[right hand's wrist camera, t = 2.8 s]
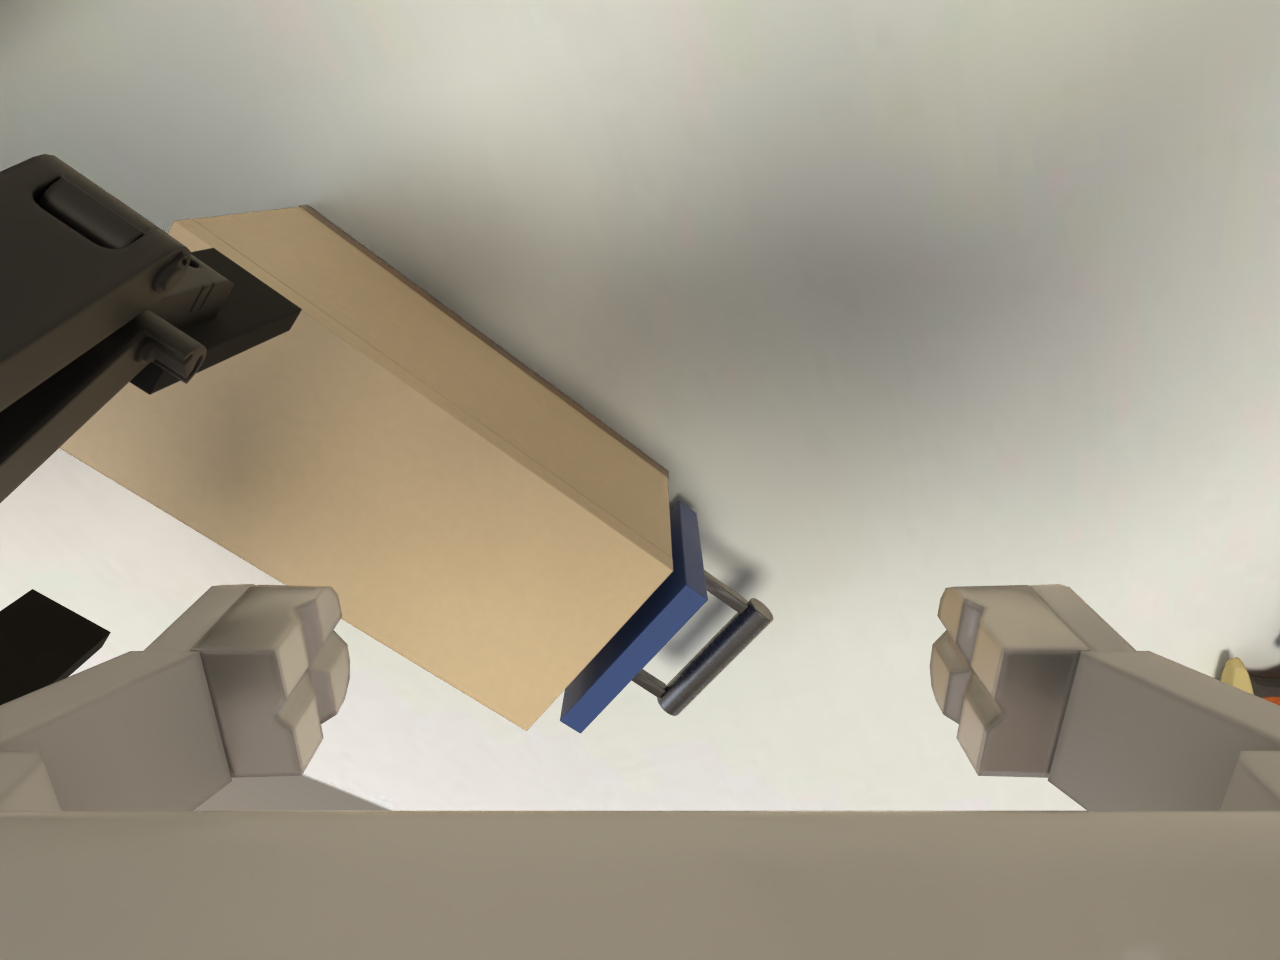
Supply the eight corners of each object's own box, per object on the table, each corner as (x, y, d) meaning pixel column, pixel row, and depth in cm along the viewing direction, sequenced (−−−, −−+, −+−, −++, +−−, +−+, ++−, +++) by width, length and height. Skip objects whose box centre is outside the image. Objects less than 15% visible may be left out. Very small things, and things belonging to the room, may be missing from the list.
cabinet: (668, 471, 40) (674, 571, 30) (554, 602, 43) (526, 732, 33) (307, 204, 35) (173, 219, 25) (209, 374, 38) (56, 447, 29)
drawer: (772, 568, 41) (802, 665, 33) (667, 676, 44) (671, 790, 36) (363, 269, 35) (279, 299, 27) (272, 415, 38) (172, 482, 30)
